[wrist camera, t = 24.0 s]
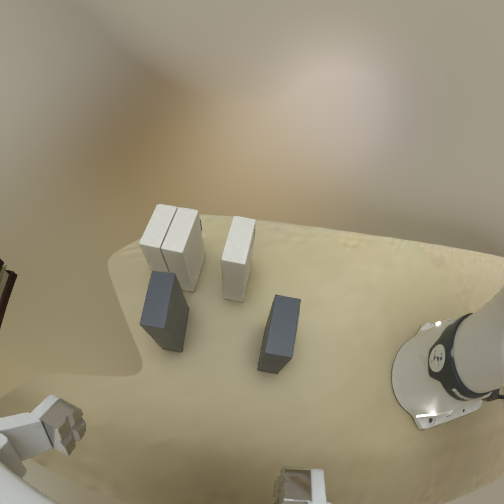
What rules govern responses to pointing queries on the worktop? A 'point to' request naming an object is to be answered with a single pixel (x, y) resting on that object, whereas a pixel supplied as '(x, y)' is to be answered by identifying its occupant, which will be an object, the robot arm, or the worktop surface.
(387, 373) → the worktop surface
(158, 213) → the white book
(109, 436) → the worktop surface
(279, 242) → the worktop surface
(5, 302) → the decorative book
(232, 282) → the white book
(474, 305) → the worktop surface
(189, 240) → the white book
